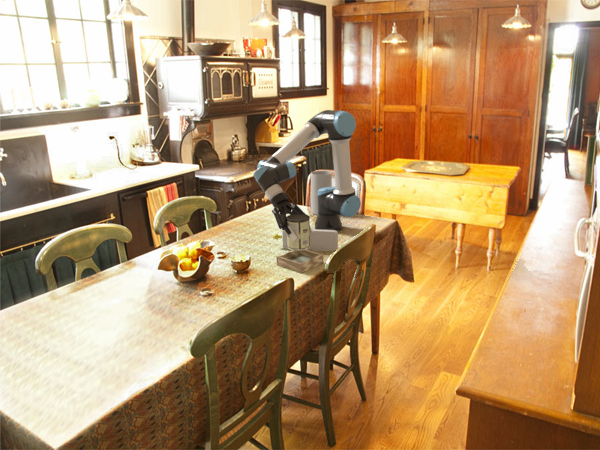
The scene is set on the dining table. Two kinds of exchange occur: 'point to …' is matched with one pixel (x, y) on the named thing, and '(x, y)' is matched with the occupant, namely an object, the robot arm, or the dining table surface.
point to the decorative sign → (317, 240)
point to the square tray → (300, 260)
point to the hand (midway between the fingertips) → (303, 236)
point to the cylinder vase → (319, 186)
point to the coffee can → (299, 232)
